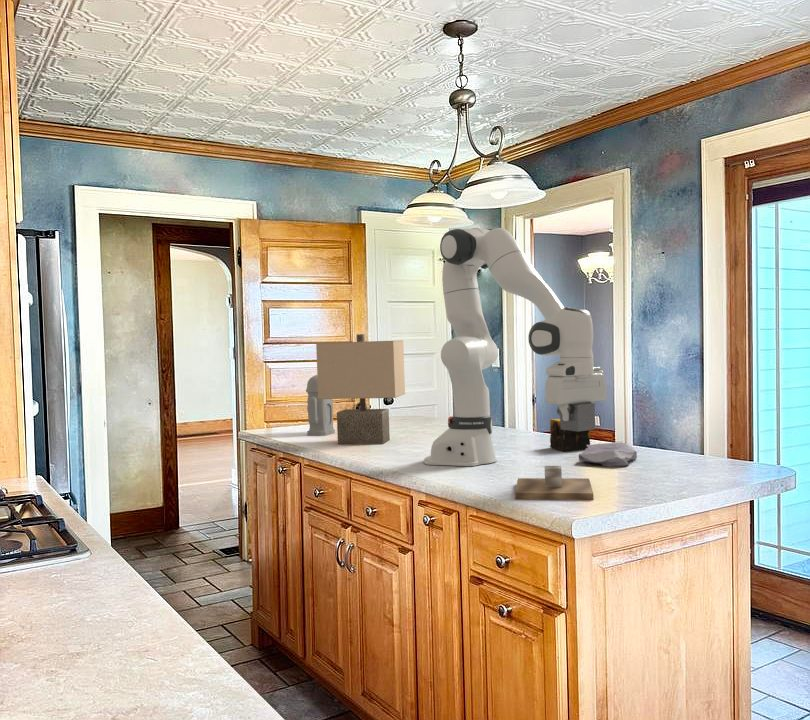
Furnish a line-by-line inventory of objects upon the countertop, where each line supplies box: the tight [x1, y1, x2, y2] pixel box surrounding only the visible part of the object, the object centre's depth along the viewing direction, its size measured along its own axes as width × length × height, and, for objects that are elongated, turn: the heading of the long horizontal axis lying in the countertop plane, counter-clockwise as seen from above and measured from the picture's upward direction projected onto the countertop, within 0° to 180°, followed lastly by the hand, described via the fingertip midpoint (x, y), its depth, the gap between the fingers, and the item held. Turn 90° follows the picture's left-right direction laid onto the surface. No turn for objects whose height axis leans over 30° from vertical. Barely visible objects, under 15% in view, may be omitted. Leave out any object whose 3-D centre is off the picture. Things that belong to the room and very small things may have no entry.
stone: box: [578, 442, 638, 467], centre depth 222 cm, size 20×15×5 cm
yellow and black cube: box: [549, 418, 591, 453], centre depth 249 cm, size 10×10×10 cm
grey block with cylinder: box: [556, 402, 596, 432], centre depth 199 cm, size 6×9×7 cm
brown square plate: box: [514, 465, 595, 501], centre depth 182 cm, size 18×18×6 cm
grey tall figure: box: [305, 374, 336, 437], centre depth 311 cm, size 15×10×25 cm
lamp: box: [315, 333, 406, 445], centre depth 281 cm, size 29×18×41 cm, turn 79°
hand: (577, 419), depth 198 cm, fingers closed on grey block with cylinder, 6 cm apart
